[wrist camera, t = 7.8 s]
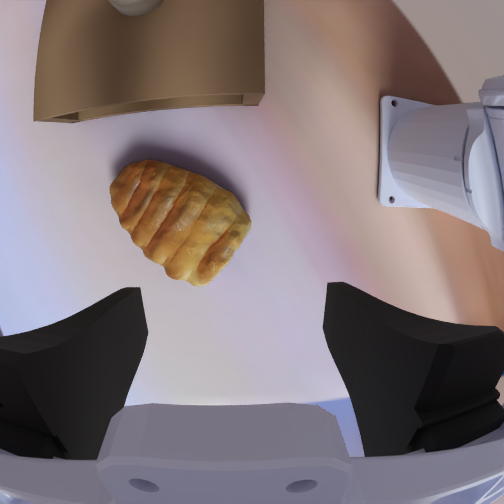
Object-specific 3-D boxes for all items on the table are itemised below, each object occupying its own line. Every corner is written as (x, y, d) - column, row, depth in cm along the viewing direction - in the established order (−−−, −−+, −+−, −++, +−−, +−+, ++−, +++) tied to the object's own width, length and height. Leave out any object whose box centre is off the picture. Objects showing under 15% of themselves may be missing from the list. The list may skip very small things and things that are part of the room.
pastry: (101, 212, 21) (78, 225, 17) (151, 133, 19) (133, 130, 16) (205, 285, 23) (200, 310, 19) (261, 212, 21) (267, 226, 18)
